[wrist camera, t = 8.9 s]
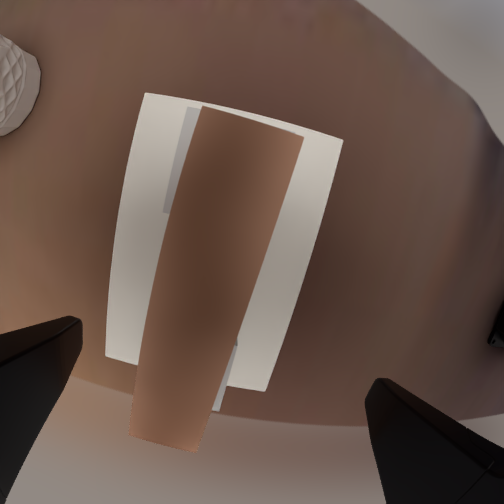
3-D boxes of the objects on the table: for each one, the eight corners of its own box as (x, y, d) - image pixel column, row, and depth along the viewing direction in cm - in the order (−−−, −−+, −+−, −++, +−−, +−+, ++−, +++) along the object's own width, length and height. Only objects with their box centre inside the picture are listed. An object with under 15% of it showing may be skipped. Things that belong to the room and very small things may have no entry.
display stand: (338, 141, 19) (369, 135, 14) (263, 383, 23) (270, 429, 18) (149, 95, 17) (123, 76, 13) (109, 349, 22) (86, 388, 17)
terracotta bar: (285, 143, 14) (304, 137, 10) (201, 403, 18) (196, 453, 14) (211, 121, 13) (202, 105, 10) (144, 388, 17) (128, 435, 13)
